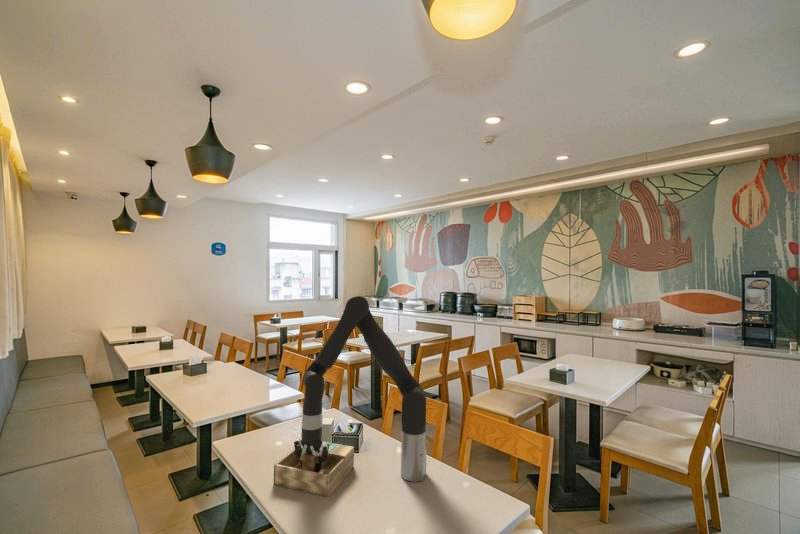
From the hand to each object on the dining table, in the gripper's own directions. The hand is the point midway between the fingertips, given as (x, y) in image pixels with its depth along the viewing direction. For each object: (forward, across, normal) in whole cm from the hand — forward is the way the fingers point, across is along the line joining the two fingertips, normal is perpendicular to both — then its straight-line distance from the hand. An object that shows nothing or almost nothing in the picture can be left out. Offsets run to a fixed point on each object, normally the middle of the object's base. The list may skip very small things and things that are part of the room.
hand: (310, 470), depth 133 cm
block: (+1, 0, 0) cm, 1 cm away
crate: (+3, 0, -4) cm, 5 cm away
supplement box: (+4, +7, -22) cm, 23 cm away
